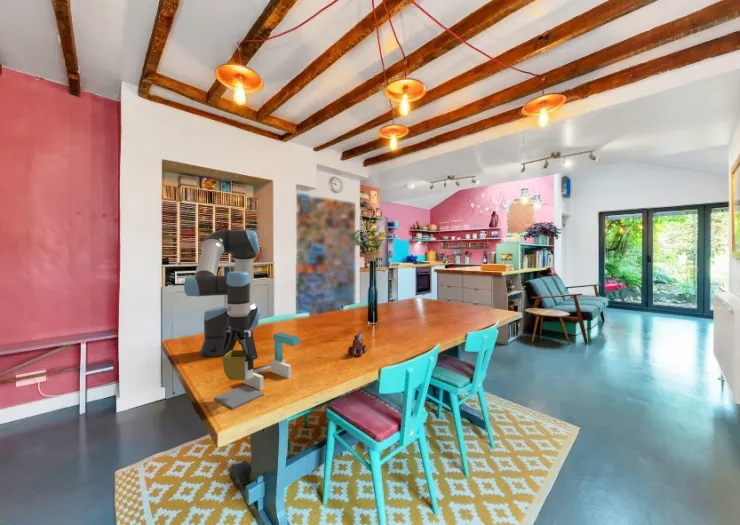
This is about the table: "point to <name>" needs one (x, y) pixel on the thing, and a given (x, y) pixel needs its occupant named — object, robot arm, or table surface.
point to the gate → (285, 339)
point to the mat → (239, 396)
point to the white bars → (275, 367)
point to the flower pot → (234, 365)
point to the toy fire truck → (357, 345)
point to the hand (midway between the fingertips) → (239, 374)
